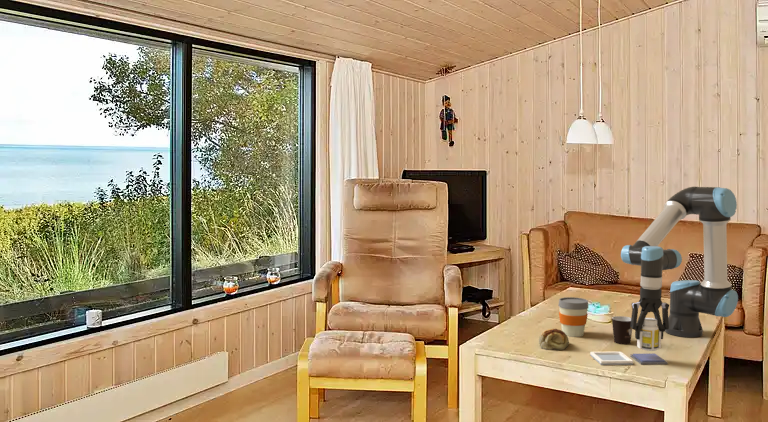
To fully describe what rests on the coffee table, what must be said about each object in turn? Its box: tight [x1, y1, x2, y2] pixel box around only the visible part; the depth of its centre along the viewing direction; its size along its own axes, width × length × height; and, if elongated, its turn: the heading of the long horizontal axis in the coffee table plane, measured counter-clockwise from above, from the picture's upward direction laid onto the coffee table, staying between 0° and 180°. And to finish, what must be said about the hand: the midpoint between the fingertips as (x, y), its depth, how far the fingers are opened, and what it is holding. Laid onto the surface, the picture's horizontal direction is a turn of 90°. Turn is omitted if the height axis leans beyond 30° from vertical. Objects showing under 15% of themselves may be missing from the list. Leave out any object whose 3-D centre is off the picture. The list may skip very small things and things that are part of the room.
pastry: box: [538, 328, 570, 351], centre depth 271 cm, size 14×12×8 cm
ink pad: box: [629, 353, 669, 366], centre depth 252 cm, size 10×10×1 cm
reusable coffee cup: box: [558, 296, 589, 338], centre depth 289 cm, size 13×13×15 cm
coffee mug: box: [611, 315, 633, 345], centre depth 277 cm, size 12×9×10 cm
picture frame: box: [589, 351, 634, 366], centre depth 253 cm, size 12×12×1 cm
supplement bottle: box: [641, 317, 659, 352], centre depth 251 cm, size 6×6×11 cm
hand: (648, 347), depth 252 cm, fingers closed on supplement bottle, 6 cm apart
